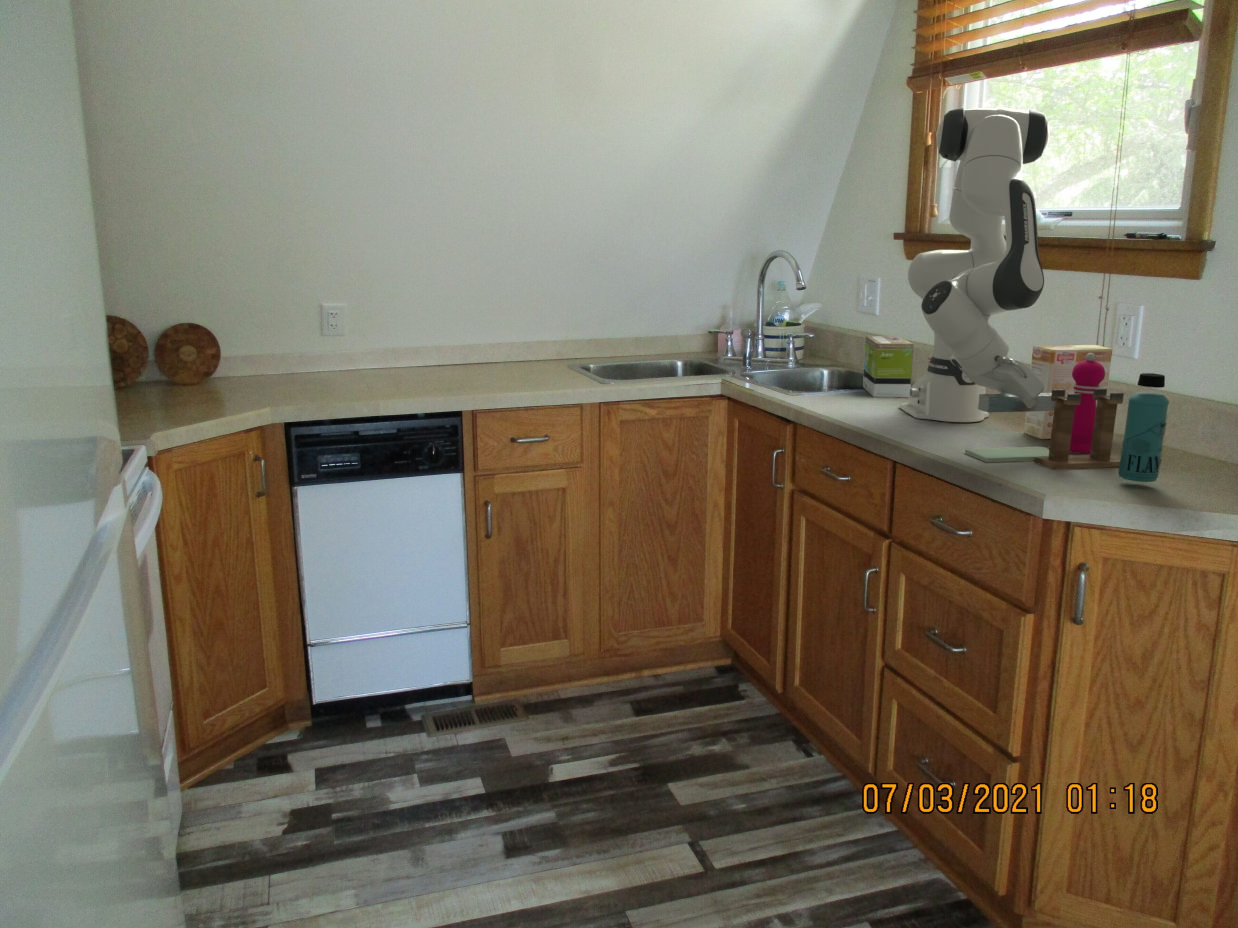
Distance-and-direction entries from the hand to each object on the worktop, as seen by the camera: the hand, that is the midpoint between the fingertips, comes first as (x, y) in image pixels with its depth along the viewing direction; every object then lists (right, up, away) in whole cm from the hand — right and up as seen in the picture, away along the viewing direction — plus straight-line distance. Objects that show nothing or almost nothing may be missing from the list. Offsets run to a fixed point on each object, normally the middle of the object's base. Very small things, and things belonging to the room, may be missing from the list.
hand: (1023, 403), depth 192 cm
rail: (-1, -1, 0) cm, 1 cm away
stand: (+9, -12, -3) cm, 16 cm away
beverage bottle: (+12, -16, -19) cm, 27 cm away
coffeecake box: (+18, -6, +23) cm, 30 cm away
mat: (-1, -10, +3) cm, 11 cm away
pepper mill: (+15, -9, +9) cm, 19 cm away
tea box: (-7, +7, +75) cm, 75 cm away
